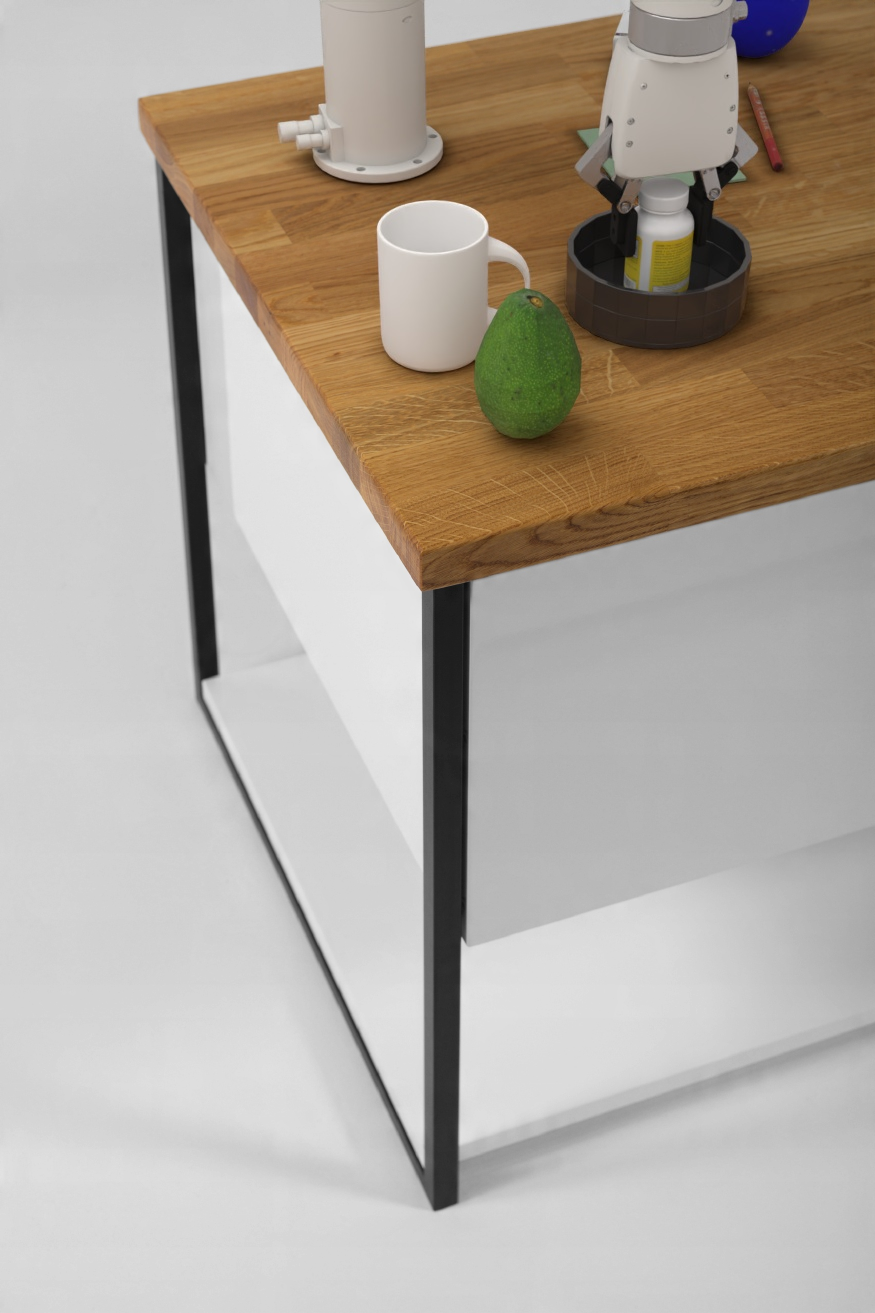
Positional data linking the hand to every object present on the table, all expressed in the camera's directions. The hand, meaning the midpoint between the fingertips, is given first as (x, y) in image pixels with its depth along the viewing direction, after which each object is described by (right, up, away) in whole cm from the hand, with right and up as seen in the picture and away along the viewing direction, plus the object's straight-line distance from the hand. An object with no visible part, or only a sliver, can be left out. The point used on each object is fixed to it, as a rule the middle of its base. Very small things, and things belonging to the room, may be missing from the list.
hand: (659, 242), depth 134 cm
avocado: (-11, -17, -10) cm, 23 cm away
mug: (-17, -9, -1) cm, 19 cm away
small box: (+4, +27, +37) cm, 46 cm away
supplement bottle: (0, -4, +3) cm, 5 cm away
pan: (0, -4, +4) cm, 5 cm away
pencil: (+14, +18, +28) cm, 36 cm away
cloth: (+3, +14, +23) cm, 27 cm away
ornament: (+15, +31, +41) cm, 53 cm away
